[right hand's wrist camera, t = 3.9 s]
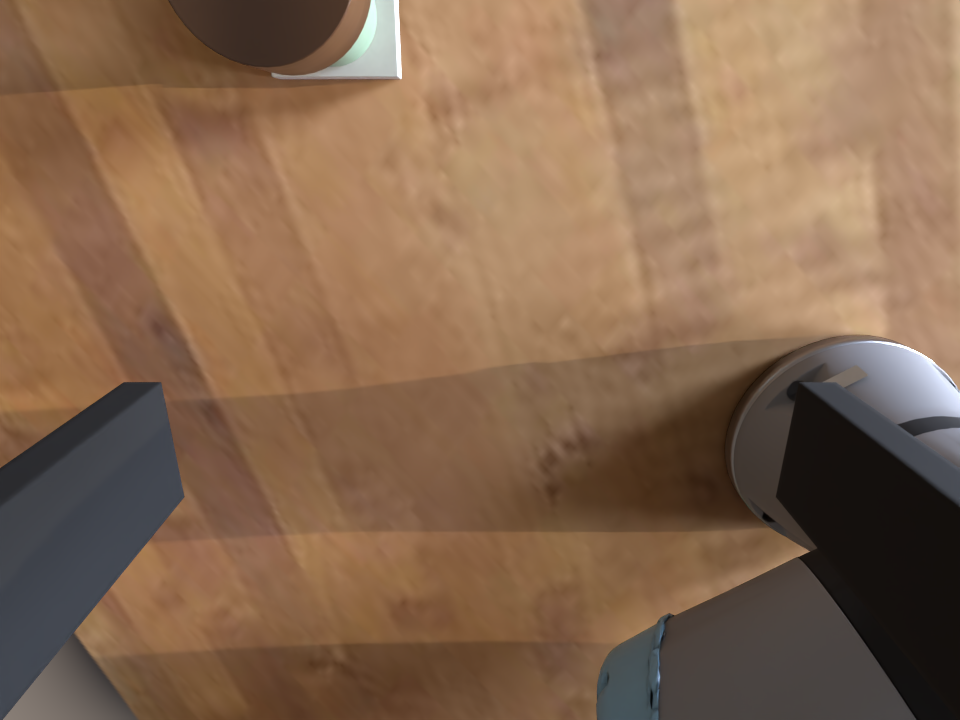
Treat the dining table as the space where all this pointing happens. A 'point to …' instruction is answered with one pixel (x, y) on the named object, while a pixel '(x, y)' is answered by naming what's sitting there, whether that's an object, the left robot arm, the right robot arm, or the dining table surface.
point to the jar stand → (368, 49)
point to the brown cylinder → (276, 31)
